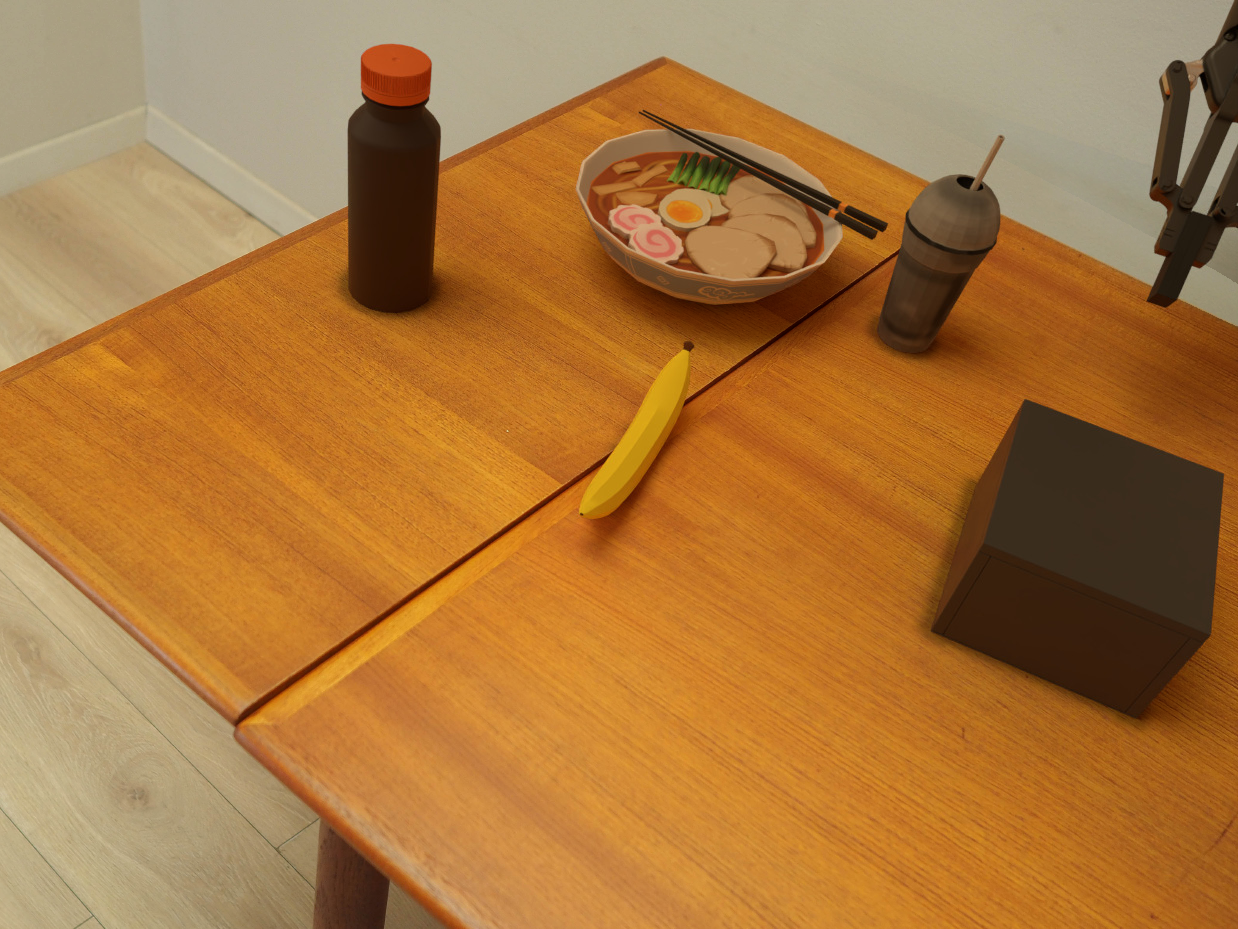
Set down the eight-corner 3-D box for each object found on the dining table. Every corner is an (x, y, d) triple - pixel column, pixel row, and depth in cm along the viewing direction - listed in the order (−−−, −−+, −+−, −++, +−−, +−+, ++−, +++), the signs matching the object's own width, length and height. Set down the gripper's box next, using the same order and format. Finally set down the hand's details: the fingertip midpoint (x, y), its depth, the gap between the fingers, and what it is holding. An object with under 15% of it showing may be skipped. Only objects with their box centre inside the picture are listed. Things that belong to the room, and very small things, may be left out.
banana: (551, 555, 78) (563, 490, 74) (656, 397, 91) (672, 333, 86) (590, 572, 78) (604, 508, 73) (690, 411, 90) (708, 347, 85)
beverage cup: (921, 314, 103) (1014, 103, 88) (957, 368, 98) (1062, 154, 84) (846, 317, 101) (928, 102, 87) (879, 372, 96) (972, 154, 82)
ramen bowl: (500, 253, 101) (510, 169, 95) (659, 167, 114) (676, 89, 108) (732, 400, 92) (759, 317, 86) (876, 288, 105) (908, 209, 99)
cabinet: (971, 493, 88) (1024, 398, 81) (1153, 565, 85) (1224, 473, 78) (926, 637, 78) (983, 542, 71) (1131, 725, 75) (1211, 635, 68)
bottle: (330, 290, 95) (326, 54, 80) (391, 259, 99) (397, 28, 84) (389, 331, 92) (395, 94, 78) (448, 297, 96) (465, 65, 81)
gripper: (1361, 50, 88) (1232, 341, 89) (1186, 0, 91) (1063, 282, 92) (1411, 4, 81) (1270, 321, 82) (1219, -49, 83) (1085, 258, 84)
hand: (1161, 300), depth 87 cm, fingers closed
